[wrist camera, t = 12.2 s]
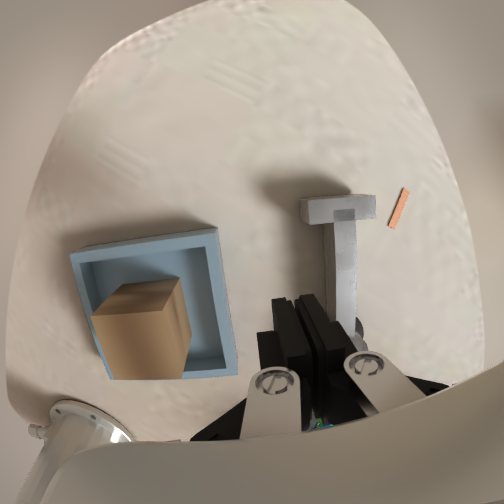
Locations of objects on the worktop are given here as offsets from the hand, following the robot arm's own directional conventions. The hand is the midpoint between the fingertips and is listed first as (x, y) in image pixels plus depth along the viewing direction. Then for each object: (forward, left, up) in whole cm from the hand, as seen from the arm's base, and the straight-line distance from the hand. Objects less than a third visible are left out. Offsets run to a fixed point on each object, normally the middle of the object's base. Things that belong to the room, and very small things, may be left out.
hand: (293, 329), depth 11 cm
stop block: (-9, -3, -11) cm, 14 cm away
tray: (-9, -3, -11) cm, 15 cm away
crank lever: (+5, -3, -11) cm, 12 cm away
